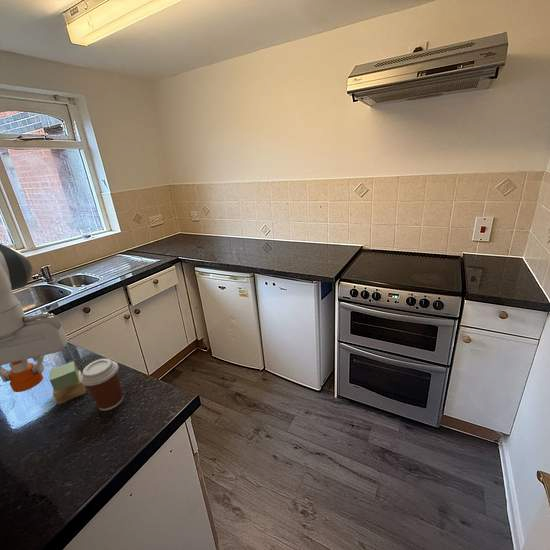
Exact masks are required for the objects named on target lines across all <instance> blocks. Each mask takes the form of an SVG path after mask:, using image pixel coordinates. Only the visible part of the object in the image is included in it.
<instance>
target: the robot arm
mask: <svg viewBox="0 0 550 550" xmlns="http://www.w3.org/2000/svg"><path fill="white" fill-rule="evenodd" d="M33 271H34V270H33V266H32V264H31V262H30V260H29V259H28V258H27V256H25V255H24V254H23V253H22V252H20V251H19V250H16V249H14V248H12V247H9V246H7V245H5V244H2V243H0V378H1V380H2V382H3V383H6V382H10V381H11V378H10V376H9V372H10V371H11V369H10V370H8V369H6V368H5V367H3V366H4V365H9V364H10V363H13V362H17V361H22V360H26V359H27V360H29V359H32V360H33V362H36V363H35V364H34V363H33V364H34V367H32V371H33V374H39V373H43V372H44V371H45V366H44V365H43V361H44V358H45V356H47V355H51V354H55V353H56V354H57V353H60V352H63V350H64V349H65V348H66V346H67V345H68V342H69V338H68V336H67V334H66V332H65V330H64V329H63V327H62V324H61V320H60V318H59V317H58V315H55V314H54V313H49V312H43V313H39V314H32V315H27V316H26V314H25V311H24V309H23V307H22V305H21V302H20V300H19V298H17V297H16V296H15V294H14V293H13V291H16V290H20V289H23V288H25V287H26V286H27V285H28V283H29V282H30V281H31V278H32V276H33Z"/></svg>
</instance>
